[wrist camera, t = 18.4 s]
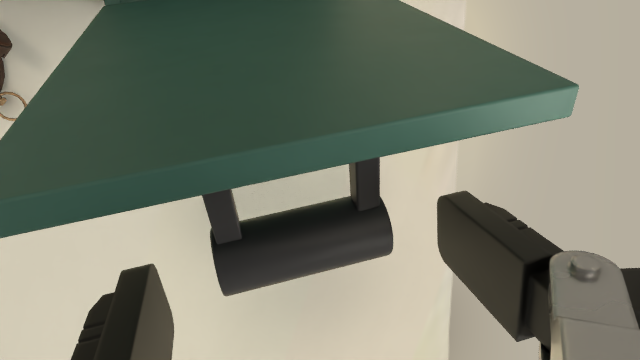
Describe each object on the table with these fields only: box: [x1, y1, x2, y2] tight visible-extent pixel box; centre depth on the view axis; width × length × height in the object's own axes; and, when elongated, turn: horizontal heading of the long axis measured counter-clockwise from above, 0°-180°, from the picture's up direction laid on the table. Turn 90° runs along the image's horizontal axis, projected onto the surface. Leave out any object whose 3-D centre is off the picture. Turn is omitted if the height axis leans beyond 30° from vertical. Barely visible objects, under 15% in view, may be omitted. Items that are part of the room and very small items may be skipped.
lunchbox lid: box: [0, 0, 579, 296], centre depth 17 cm, size 17×13×6 cm
